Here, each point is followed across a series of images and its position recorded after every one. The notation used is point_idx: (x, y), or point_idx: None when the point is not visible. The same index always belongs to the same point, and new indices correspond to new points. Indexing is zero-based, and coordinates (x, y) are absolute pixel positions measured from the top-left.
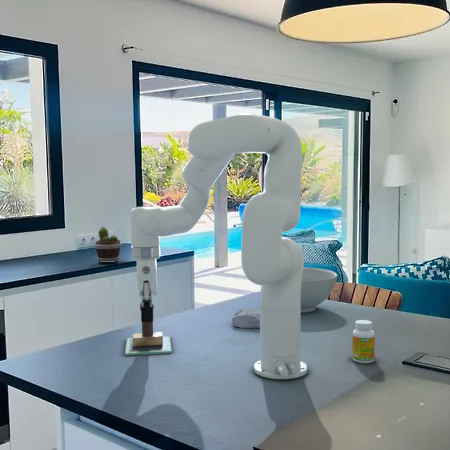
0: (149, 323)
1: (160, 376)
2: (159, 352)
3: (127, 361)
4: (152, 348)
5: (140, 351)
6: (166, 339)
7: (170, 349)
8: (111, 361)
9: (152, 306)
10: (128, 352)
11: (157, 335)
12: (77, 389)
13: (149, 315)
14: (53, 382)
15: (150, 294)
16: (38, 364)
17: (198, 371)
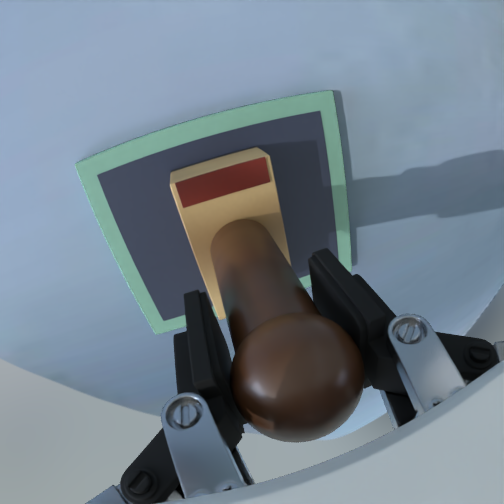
0: (291, 267)
1: (496, 120)
2: (338, 143)
3: (399, 238)
4: (299, 185)
5: (335, 225)
6: (137, 158)
7: (312, 97)
8: (390, 283)
9: (334, 335)
10: (342, 264)
11: (246, 191)
12: (499, 271)
13: (368, 290)
14: (463, 324)
15: (239, 479)
16: (370, 398)
17: (473, 17)
